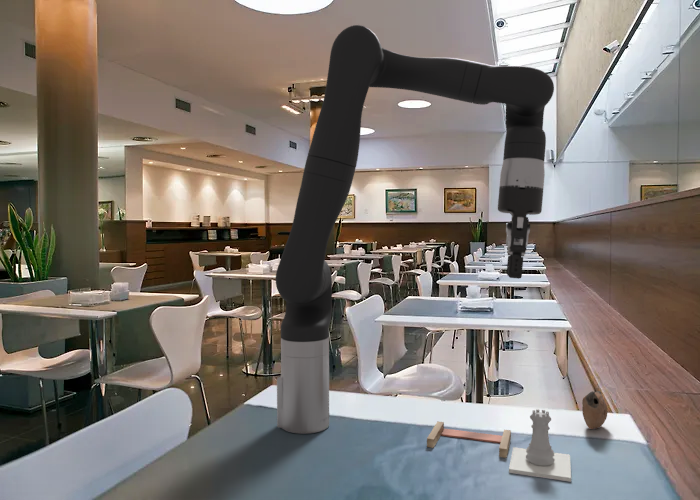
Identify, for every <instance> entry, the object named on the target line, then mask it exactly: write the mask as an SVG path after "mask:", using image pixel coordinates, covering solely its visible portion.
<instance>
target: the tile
mask: <svg viewBox="0 0 700 500" xmlns="http://www.w3.org/2000/svg"><path fill="white" fill-rule="evenodd" d="M526 449H527V448H521V447H516V446H514V447H513V446H512V452H511V456H510V461H509V462H510V463H509V466H508V467H509V468H508V473H509V474H514V475H516V474H517V475H521V476H529V477H536V478H542V479H550V480H556V481H563V482H570V483H572V470H571V469H572V467H571V455H570V454H568V453H567V454H566V453H560V452H554V456H553V458H554V459H555V461H554V463H553V464H552V465H550V466H537V465H534V464H532V463H530V462H529V461H528V460H527V459H526V455H527V452H526Z"/></svg>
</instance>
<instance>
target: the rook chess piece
mask: <svg viewBox="0 0 700 500" xmlns="http://www.w3.org/2000/svg"><path fill="white" fill-rule="evenodd" d="M529 418H530V420H531V421H532V424H531V428H532V435H531V440H530V443H528V446H527V447H526V448H525V449H526V452H527V455H526V459H527V460H528V461H529V462H530V463H532V464H534V465H537V466H550V465H552V464H553V463H554V461H555V459H554V458H553V456H554V453H555V452H554V450H553V449H552V446H551V443H550V437H549V430H550V426H549V423H550V422H551V421H552V418H551V416H550V412H549V411H546V410H545V409H542V410H541V411H540V409H533V410H532V412H531V415H529Z"/></svg>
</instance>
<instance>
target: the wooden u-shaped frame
mask: <svg viewBox="0 0 700 500" xmlns="http://www.w3.org/2000/svg"><path fill="white" fill-rule="evenodd" d="M444 423H445V422H444V421H436V422H435V424H434V426H433V428H432V430H431V431H430V433H429V434H428V436H427V437H426V447H427V448H430V449H431V448H432V449H434V448H435V447H436V445H437V443H438V441H439V439H440V438H441V437H448V438H456V439H464V440H470V441H471V440H472V441H478V442H479V441H480V442H487V443H493V444H499V446H498V450H499V452H498V454H499V455H498V457H499V458H502V459H503V458H504V459H507V458H508V453H509V449H510V444H511V439H512V430H511V429H503V433H502V435H499V434H490V433H482V432H475V431H468V430H457V429H451V428H450V429H449V428H445V424H444Z"/></svg>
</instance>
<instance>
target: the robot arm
mask: <svg viewBox="0 0 700 500" xmlns="http://www.w3.org/2000/svg"><path fill="white" fill-rule="evenodd" d="M381 44H382V43H381V42H380V39H379V38H378V36H377V34H376V33H375V32H374V31H372V30H371V29H370V27H369V28H368V27H367V26H365V25H360V24H358V25H357V24H356V25H355V24H354V25H350V26H348V27H346V28H344V29H343V30H342V31H341V32H339V34H338V35H337V36H336V37H335V39H334V41H333V43H332V46H331V49H330V57H329V63H328V70H327V78H326V86H325V91H324V97H323V101H322V105H321V108H320V111H319V115H318V118H317V121H316V124H315V128H314V131H313V135H312V138H311V141H310V146H309V149H308V152H307V157H306V160H305V165H304V168H303V173H302V178H301V179H302V180H301V184H300V187H299V192H298V196H297V200H296V204H295V205H296V206H295V212H294V216H293V221H292V224H291V225H292V226H291V229H290V232H289V234H288V238H287V241H286V243H285V246H284V248H283V252H282V254H281V257H280V260H279V263H278V265H277V268H276V269H277V270H276V272H275V286H276V289H277V292H278V294H279V295H280V296H281V298H282V299H283V301H286V303H285V304H286V305H285V313H284V316H283V319H282V321H281V324H280V376H278V377H277V378H276V405H277V406H276V414H277V416H276V420H277V421H276V422H277V423H276V425H277V426H276V427H277V428H279V429H280V428H281V429H283V430H284V431H286V432H289V433H293V434H306V435H307V434H314V433H319V432H323V431H324V430H326V429H328V427H330V341H329V340H330V324H331V320H332V311H333V310H332V304H333V303H332V302H333V301H332V300H333V277H332V271H331V269H330V266H329V264H328V262H327V261H326V260H325V259H326V252H327V248H328V247H327V246H328V244H329V243H328V242H329V239H330V237H331V233H332V231H333V229H334V226H335V224H336V222H337V220H338V218H339V216H340V214H341V212H342V210H343V208H344V206H345V204H346V201H347V199H348V196H349V194H350V191H351V187H352V185H353V179H354V178H355V177H354V176H355V172H356V168H357V163H358V159H359V158H358V157H359V151H360V143H361V127H362V116H363V110H364V105H365V101H366V98H367V96H368V95H367V94H368V92H369V89H370V88H378V89H379V88H381V89H382V88H384V89H396V90H405V91H413V92H419V93H423V94H427V95H428V94H429V95H433V96H437V97H442V98H446V99H449V100H450V99H451V100H454V101H461V102H465V103H469V104H475V105H482V106H483V105H484V106H485V105H488V104H491V103H497V104H503V105H505V132H506V133H505V140H504V147H503V160H502V164H501V165H502V166H501V170H500V176H499V177H500V179H499V187H498V189H499V190H498V199H497V211H498V212H499V213H503V214H510V216H511V220H509V221H508V222H506V224H505V225H506V226H505V233H506V238H505V239H506V240H505V245H506V254H507V262H506V263H507V264H506V265H507V266H506V275H507V277H509V279H521V278H522V277H523V266H524V257H525V255H526V251H527V247H528V244H529V234H530V232H531V224H530V220H529V217H528V216H527V215H529V216H530V215H531V216H534V215H539V214H541V213H542V209H543V197H544V188H545V187H544V186H545V157H546V146H547V145H546V143H547V141H546V139H547V138H546V132H545V131H544V113H545V107H546V105H548V103H550V101H551V100H552V98H553V95H554V91H555V85H554V81H553V79H552V78H551V76H550V75H549V74H548V73H546V72H545V71H543V70H542V69H538V68H536V67H535V68H534V67H531V66H523V65H492V64H491V65H490V64H487V63H483V62H479V61H478V62H477V61H473V60H468V59H464V58H463V59H462V58H456V57H441V56H438V57H436V56H435V57H433V56H431V57H430V56H429V57H427V56H426V57H424V56H420V57H419V56H413V55H412V56H411V55H406V54H401V53H398V52H394V51H392V50H390V49H386V48H384V47H382V45H381Z"/></svg>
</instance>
